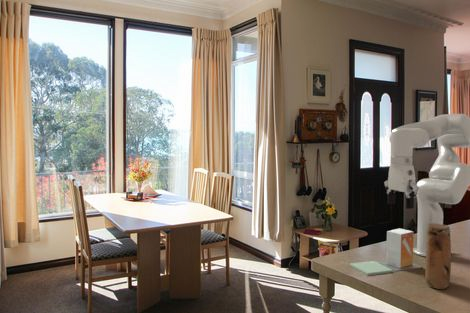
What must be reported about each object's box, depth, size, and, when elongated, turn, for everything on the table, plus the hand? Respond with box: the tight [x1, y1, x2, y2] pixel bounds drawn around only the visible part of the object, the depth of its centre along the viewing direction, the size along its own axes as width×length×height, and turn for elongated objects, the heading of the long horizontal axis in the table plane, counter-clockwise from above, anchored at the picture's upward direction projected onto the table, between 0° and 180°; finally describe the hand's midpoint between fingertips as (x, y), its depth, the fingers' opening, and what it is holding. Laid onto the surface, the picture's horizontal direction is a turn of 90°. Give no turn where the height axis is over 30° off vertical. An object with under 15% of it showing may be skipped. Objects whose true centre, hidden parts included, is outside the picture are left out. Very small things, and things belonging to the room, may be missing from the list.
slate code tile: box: [378, 260, 423, 272], centre depth 150 cm, size 12×10×1 cm
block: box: [424, 223, 452, 290], centre depth 130 cm, size 11×8×20 cm
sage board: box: [349, 260, 394, 276], centre depth 146 cm, size 11×11×1 cm
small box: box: [385, 227, 415, 268], centre depth 149 cm, size 8×6×13 cm
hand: (400, 206), depth 148 cm, fingers open, 9 cm apart
